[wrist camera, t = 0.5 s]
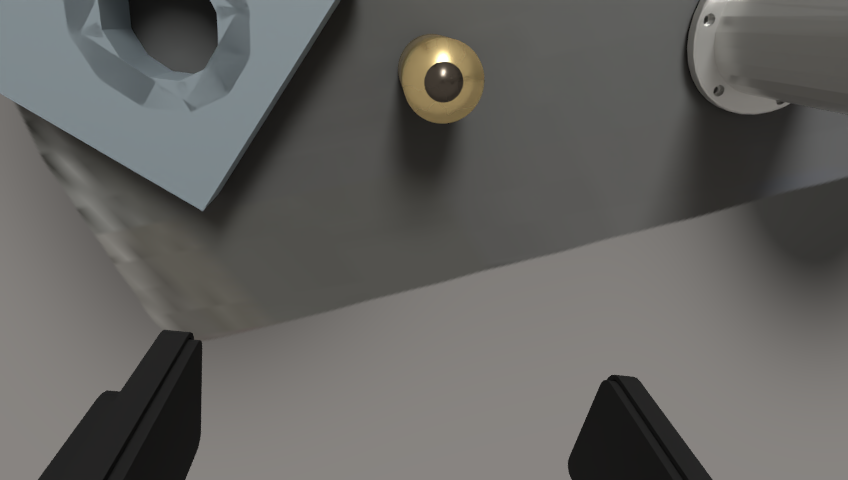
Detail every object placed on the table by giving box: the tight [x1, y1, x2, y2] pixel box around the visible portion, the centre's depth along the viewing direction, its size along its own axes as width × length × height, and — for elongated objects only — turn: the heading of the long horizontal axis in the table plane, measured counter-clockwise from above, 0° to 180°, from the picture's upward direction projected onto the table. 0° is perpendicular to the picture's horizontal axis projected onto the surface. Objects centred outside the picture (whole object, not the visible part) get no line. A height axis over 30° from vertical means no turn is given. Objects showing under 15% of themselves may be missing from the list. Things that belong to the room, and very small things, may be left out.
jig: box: [0, 0, 341, 211], centre depth 32 cm, size 20×16×4 cm
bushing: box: [398, 34, 484, 124], centre depth 33 cm, size 5×5×8 cm
